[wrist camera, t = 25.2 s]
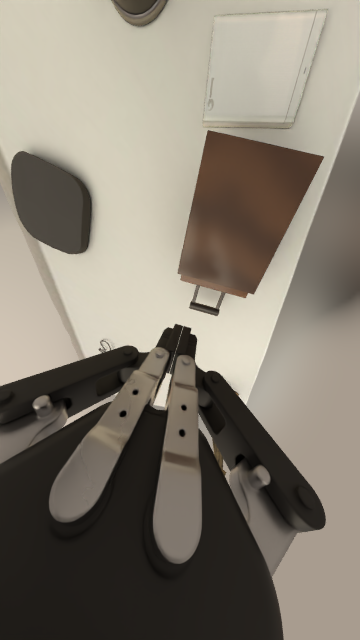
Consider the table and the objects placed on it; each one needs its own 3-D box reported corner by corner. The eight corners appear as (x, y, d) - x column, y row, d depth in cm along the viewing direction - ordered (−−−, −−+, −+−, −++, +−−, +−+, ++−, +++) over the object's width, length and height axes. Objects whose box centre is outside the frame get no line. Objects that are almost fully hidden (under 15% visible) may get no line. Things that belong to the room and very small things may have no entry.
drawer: (227, 309, 34) (231, 326, 28) (180, 296, 35) (173, 309, 28) (274, 202, 24) (300, 187, 17) (207, 186, 25) (206, 164, 18)
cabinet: (241, 280, 32) (253, 294, 23) (185, 265, 32) (177, 273, 24) (283, 186, 24) (324, 156, 15) (208, 168, 24) (207, 129, 16)
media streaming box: (94, 185, 28) (82, 180, 26) (88, 259, 36) (78, 260, 33) (22, 149, 28) (3, 139, 25) (31, 231, 35) (17, 231, 32)
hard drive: (202, 120, 21) (294, 121, 20) (214, 12, 17) (331, 3, 15) (203, 128, 22) (288, 129, 21) (213, 30, 18) (321, 23, 17)
